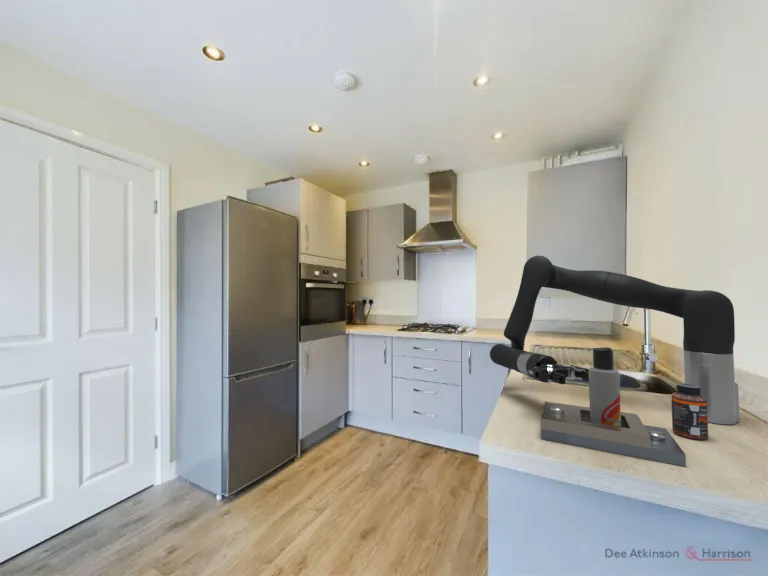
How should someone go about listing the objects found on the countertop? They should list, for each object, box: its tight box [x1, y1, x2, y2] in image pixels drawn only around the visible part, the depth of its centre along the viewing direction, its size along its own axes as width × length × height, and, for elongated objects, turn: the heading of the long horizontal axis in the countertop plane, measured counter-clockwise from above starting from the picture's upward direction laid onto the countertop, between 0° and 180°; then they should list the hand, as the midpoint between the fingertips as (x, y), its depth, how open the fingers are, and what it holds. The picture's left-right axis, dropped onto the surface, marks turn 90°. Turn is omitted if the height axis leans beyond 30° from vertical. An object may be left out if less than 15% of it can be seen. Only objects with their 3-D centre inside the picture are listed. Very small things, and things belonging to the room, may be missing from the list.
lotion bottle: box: [588, 346, 622, 427], centre depth 72 cm, size 6×6×20 cm
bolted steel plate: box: [540, 401, 687, 468], centre depth 71 cm, size 24×14×5 cm, turn 60°
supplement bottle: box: [670, 382, 709, 441], centre depth 73 cm, size 6×6×11 cm
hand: (579, 379), depth 78 cm, fingers open, 8 cm apart
